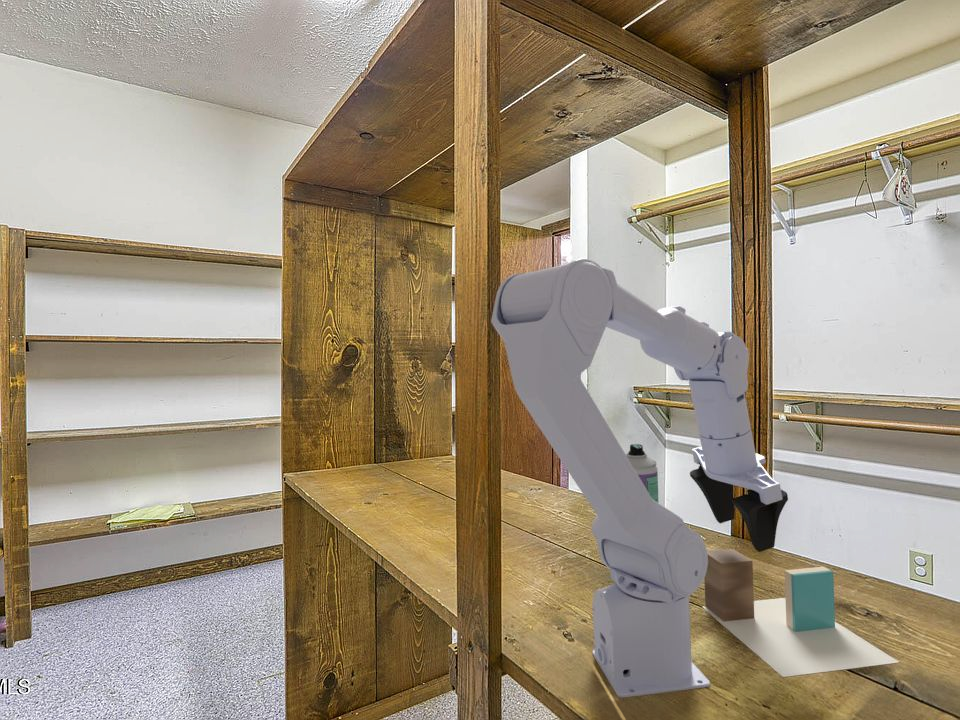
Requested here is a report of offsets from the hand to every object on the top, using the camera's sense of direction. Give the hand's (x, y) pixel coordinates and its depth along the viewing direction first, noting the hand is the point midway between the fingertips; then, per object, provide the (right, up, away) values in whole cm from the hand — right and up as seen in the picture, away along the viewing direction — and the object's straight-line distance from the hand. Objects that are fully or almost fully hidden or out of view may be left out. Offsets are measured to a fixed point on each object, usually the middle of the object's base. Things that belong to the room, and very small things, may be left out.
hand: (744, 533), depth 65 cm
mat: (+3, -10, -4) cm, 12 cm away
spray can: (-10, -11, +10) cm, 17 cm away
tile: (+6, -10, -3) cm, 12 cm away
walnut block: (-2, -10, +1) cm, 10 cm away
